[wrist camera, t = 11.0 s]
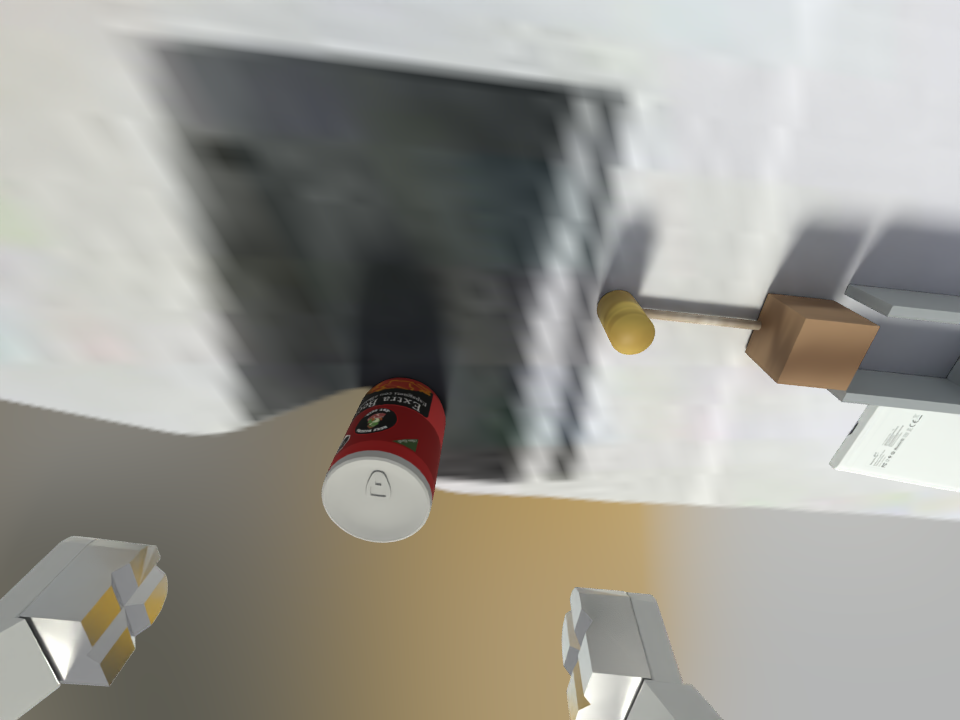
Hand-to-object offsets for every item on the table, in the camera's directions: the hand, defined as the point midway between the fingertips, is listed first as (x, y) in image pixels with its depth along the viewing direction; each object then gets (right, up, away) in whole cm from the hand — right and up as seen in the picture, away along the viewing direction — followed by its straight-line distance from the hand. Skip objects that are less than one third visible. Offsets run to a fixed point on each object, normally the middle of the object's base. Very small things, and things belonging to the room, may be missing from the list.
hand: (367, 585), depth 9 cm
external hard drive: (+41, -2, +33) cm, 53 cm away
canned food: (-5, 0, +33) cm, 34 cm away
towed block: (+20, +8, +28) cm, 35 cm away
